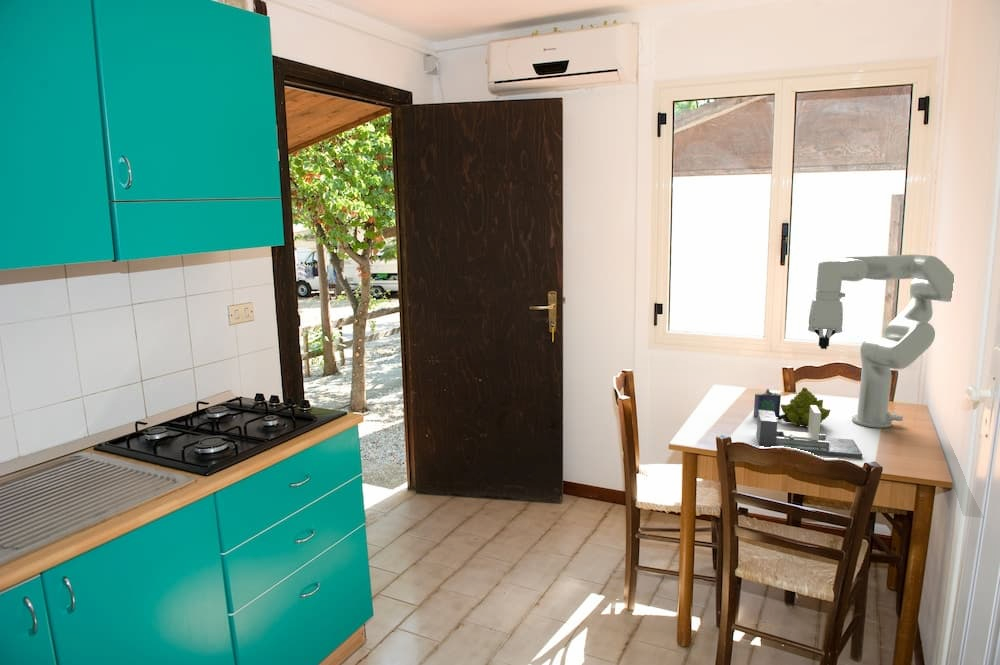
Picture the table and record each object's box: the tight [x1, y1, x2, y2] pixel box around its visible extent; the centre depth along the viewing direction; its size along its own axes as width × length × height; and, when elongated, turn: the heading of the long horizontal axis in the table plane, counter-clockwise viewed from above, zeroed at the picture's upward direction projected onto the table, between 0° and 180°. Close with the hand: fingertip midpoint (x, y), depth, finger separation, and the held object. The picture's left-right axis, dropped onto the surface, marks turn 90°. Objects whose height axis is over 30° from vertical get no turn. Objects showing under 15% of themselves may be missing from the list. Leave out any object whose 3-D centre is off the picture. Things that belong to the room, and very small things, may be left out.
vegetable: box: [777, 387, 831, 427], centre depth 237 cm, size 15×16×15 cm
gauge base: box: [755, 410, 863, 460], centre depth 216 cm, size 30×14×10 cm, turn 73°
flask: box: [753, 388, 782, 418], centre depth 247 cm, size 9×3×11 cm, turn 83°
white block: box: [782, 405, 821, 440], centre depth 215 cm, size 10×11×11 cm
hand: (823, 348), depth 229 cm, fingers closed
